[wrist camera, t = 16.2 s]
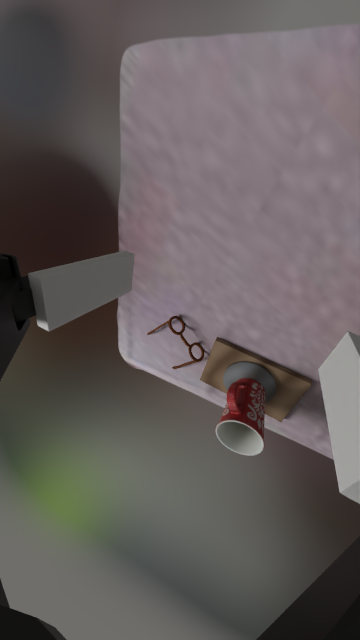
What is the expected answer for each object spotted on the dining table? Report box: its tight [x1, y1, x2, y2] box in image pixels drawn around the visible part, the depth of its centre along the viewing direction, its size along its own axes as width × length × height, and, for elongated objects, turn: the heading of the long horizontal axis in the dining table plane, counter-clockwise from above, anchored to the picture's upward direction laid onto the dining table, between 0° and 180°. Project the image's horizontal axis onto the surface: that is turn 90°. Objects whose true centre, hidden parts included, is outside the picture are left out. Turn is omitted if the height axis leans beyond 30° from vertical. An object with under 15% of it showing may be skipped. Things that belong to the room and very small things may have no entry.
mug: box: [216, 378, 266, 456], centre depth 45 cm, size 13×9×14 cm
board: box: [200, 337, 312, 422], centre depth 51 cm, size 22×14×2 cm, turn 75°
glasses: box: [147, 316, 204, 369], centre depth 56 cm, size 13×13×5 cm
